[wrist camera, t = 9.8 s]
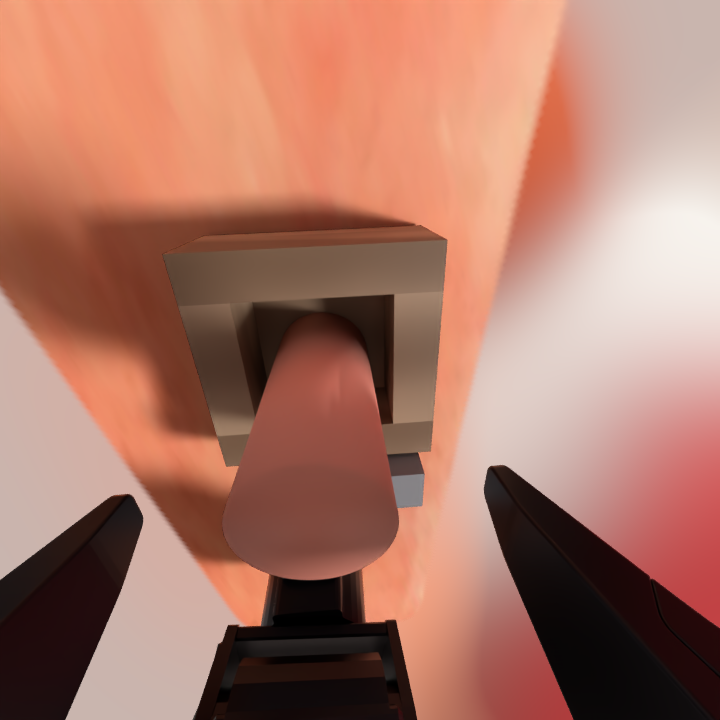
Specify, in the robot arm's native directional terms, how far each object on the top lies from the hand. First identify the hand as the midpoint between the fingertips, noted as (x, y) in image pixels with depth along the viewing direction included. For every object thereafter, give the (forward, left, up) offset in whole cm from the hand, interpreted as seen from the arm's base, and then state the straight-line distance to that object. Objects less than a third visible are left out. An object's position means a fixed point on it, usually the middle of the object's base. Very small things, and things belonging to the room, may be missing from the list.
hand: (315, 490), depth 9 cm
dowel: (0, 0, -8) cm, 8 cm away
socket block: (+1, 0, -9) cm, 9 cm away
